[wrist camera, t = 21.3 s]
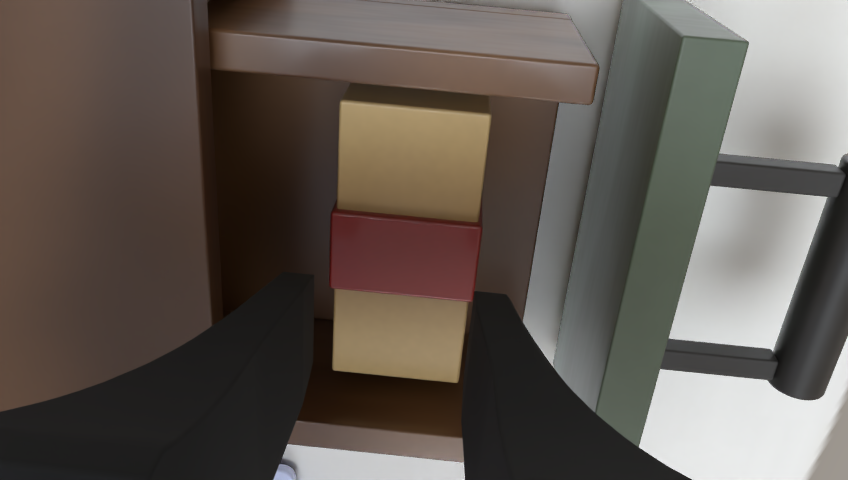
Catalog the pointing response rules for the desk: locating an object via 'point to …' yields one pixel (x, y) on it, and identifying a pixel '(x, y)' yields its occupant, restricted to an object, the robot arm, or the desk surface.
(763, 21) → the desk surface
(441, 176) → the box with red band
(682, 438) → the desk surface
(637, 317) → the drawer
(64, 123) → the cabinet
